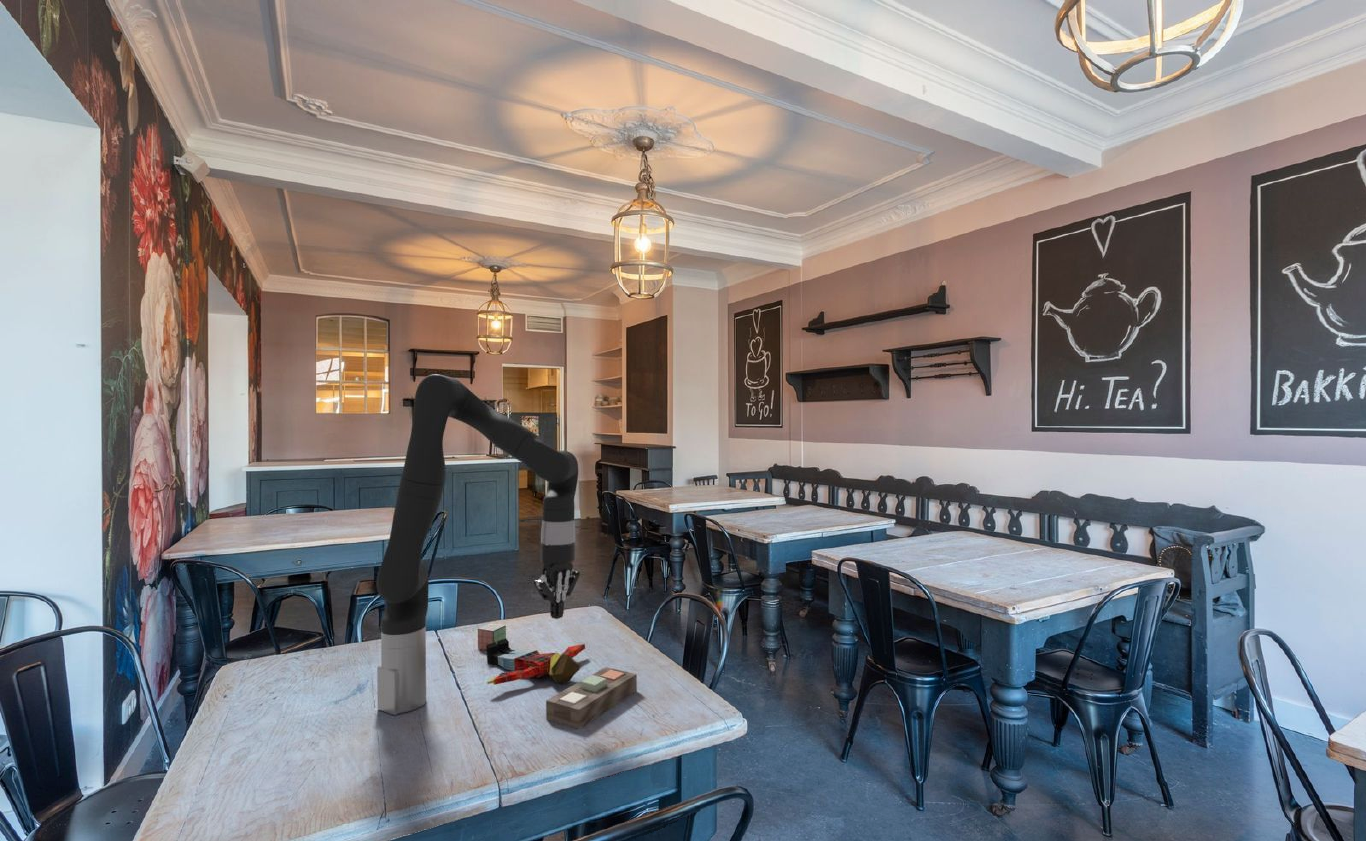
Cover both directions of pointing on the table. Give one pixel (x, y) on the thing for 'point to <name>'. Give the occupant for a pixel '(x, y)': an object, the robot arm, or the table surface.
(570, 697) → the cream button
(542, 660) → the toy
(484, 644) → the puzzle toy
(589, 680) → the sage button
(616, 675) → the terracotta button
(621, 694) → the button board
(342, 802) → the table surface
